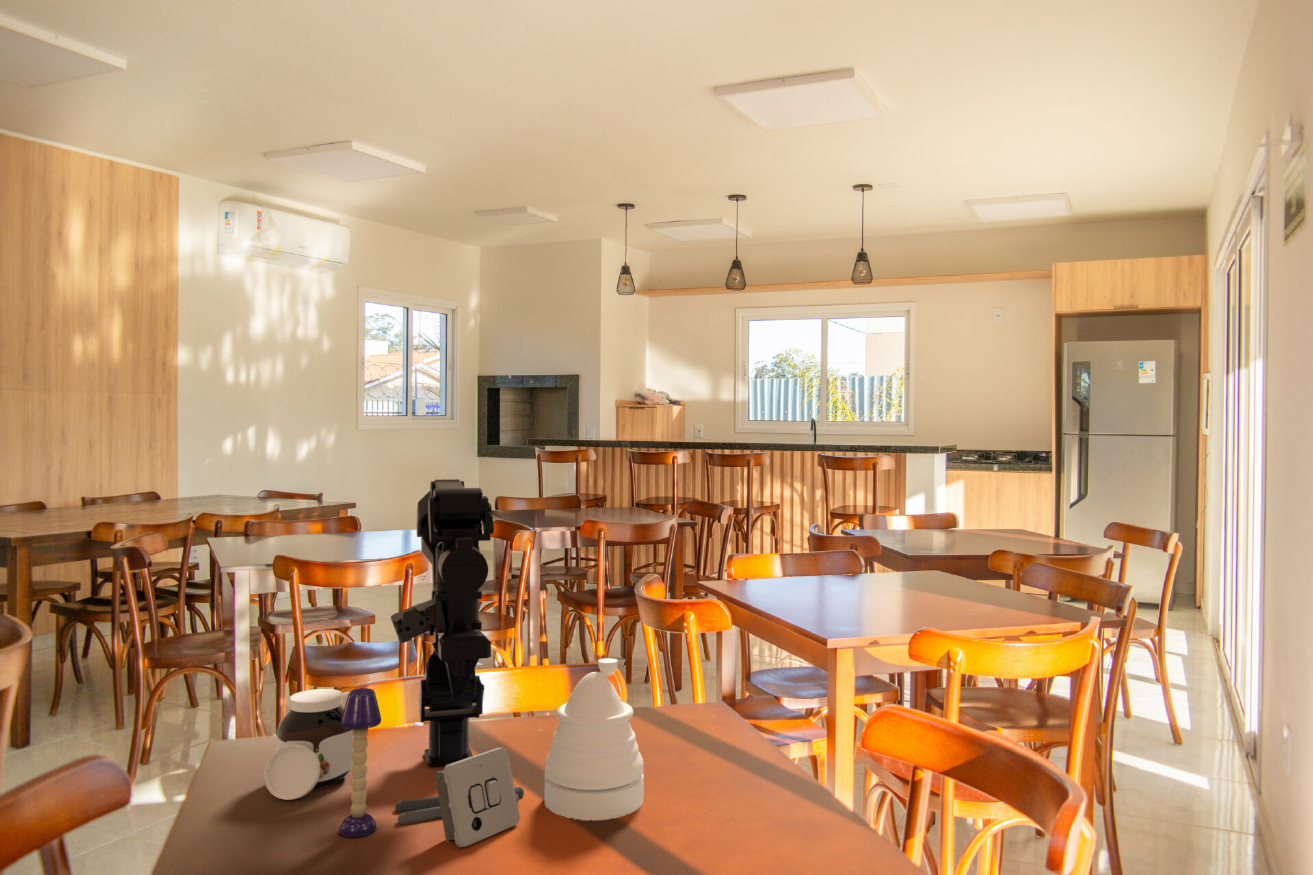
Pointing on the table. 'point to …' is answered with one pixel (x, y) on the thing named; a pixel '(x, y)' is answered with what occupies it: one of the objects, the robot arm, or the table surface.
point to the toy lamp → (359, 758)
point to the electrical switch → (477, 797)
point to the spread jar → (310, 746)
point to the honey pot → (594, 753)
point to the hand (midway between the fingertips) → (457, 698)
